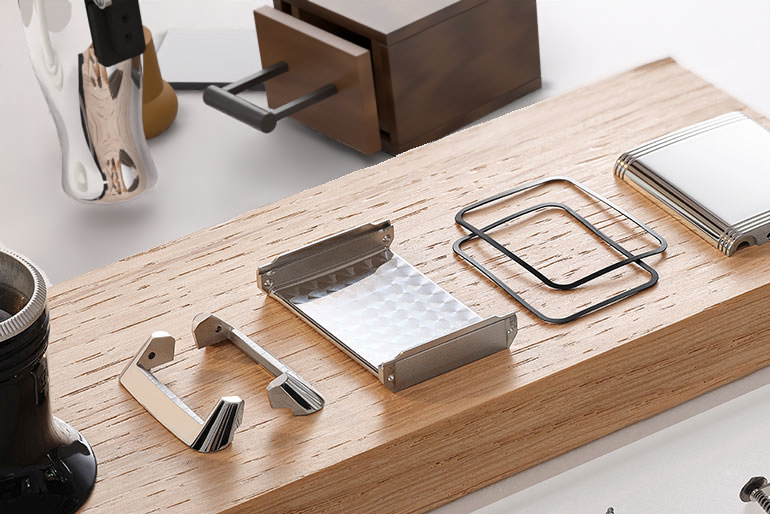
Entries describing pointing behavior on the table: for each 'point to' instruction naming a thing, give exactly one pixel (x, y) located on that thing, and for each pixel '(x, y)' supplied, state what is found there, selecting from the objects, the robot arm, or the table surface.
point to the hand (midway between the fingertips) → (84, 37)
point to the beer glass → (89, 104)
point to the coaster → (208, 58)
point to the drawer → (312, 80)
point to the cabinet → (441, 59)
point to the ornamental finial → (155, 93)
